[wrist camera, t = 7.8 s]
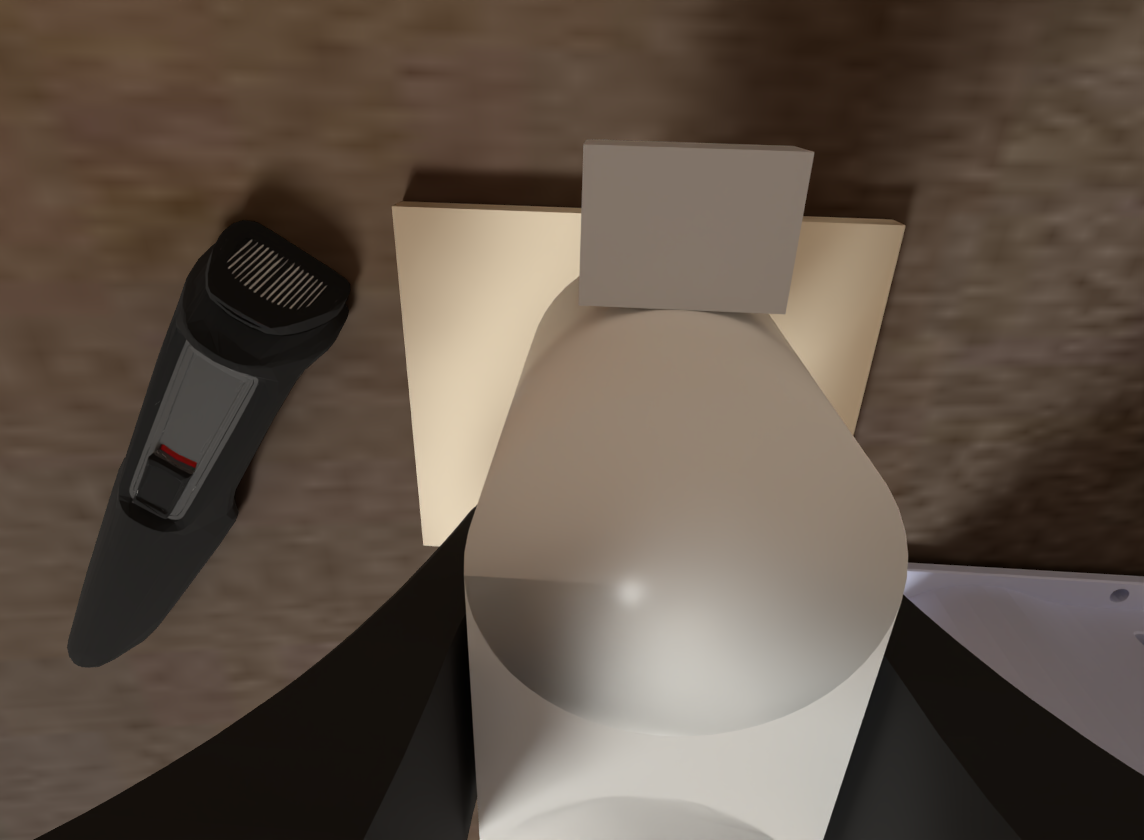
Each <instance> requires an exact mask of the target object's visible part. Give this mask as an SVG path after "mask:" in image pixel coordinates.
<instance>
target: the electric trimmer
mask: <svg viewBox="0 0 1144 840" xmlns="http://www.w3.org/2000/svg"><path fill="white" fill-rule="evenodd" d="M349 293H350V284H349V282H348V281H347V280H346V279H345V278H343V277H342V276H341V275H339V274H338V273H336V272H335V271H334V270H332V269H331V268H329V267H327V266H326V265H324V264H323V263H321V262H320V261H318V260H316V259H315V258H313V257H312V256H310V255H309V254H307V253H306V252H304V251H302V250H301V249H299V248H298V247H296V246H295V245H293V244H292V243H290V242H288V241H287V240H285V239H284V238H282V237H281V236H279V235H277V234H276V233H274V232H273V231H271V230H269V229H267V228H266V227H264V226H262V225H261V224H259V223H257V222H252V221H246V220H243V221H239V222H236V223H233V224H232V225H230V226H229V227H228V228H227V229H225V230H224V231H223V232H222V234H221V235H220V236H219V238H218V240H217V242H216V243H215V244H214V245H212V246H211V247H210V248H209V249H208V250H207V251H206V252H205V253H204V254H203V255H202V256H201V257H200V258H199V259H198V261H197V262H196V264H195V265H194V267H193V268H192V270H191V272H190V273H189V275H188V277H187V278H186V281H185V284H184V287H183V290H182V293H181V296H180V299H179V302H178V305H177V307H176V310H175V313H174V315H173V318H172V321H171V323H170V326H169V328H168V331H167V334H166V337H165V339H164V342H163V345H162V348H161V350H160V353H159V356H158V359H157V362H156V365H155V368H154V371H153V374H152V377H151V380H150V383H149V386H148V389H147V393H146V396H145V399H144V402H143V405H142V408H141V411H140V414H139V417H138V420H137V423H136V426H135V430H134V433H133V436H132V439H131V442H130V445H129V448H128V451H127V454H126V457H125V458H124V460H123V462H122V464H121V466H120V468H119V471H118V474H117V477H116V480H115V483H114V486H113V489H112V493H111V496H110V499H109V502H108V505H107V509H106V512H105V515H104V518H103V522H102V525H101V528H100V531H99V535H98V538H97V541H96V544H95V548H94V551H93V554H92V557H91V561H90V564H89V567H88V570H87V574H86V577H85V580H84V584H83V588H82V591H81V595H80V599H79V602H78V606H77V610H76V613H75V617H74V621H73V625H72V628H71V632H70V636H69V639H68V646H67V649H68V653H69V657H70V658H71V659H72V661H73V662H74V663H75V664H76V665H78V666H81V667H100V666H102V665H104V664H106V663H108V662H110V661H112V660H114V659H116V658H117V657H119V656H120V655H122V654H124V653H125V652H127V651H128V650H130V649H131V648H133V647H135V646H136V645H138V644H139V643H141V642H143V641H144V640H145V639H146V638H147V637H148V636H149V635H150V634H151V633H152V632H153V631H154V630H155V629H156V628H157V627H158V626H159V625H160V623H161V622H162V621H163V619H164V618H165V617H166V616H167V614H168V613H169V612H170V610H171V609H172V608H173V606H174V605H175V604H176V602H177V601H178V600H179V598H180V597H181V596H182V594H183V593H184V592H185V590H186V589H187V588H188V586H189V585H190V584H191V582H192V581H193V580H194V578H195V577H196V576H197V574H198V573H199V572H200V570H201V569H202V568H203V566H204V565H205V563H206V562H207V561H208V559H209V558H210V557H211V555H212V554H213V553H214V551H215V550H216V549H217V547H218V546H219V545H220V543H221V542H222V540H223V539H224V537H225V536H226V534H227V533H228V531H229V530H230V528H231V527H232V525H233V524H234V522H235V521H236V518H237V516H238V509H237V506H236V502H235V499H234V495H235V490H236V488H237V486H238V484H239V482H240V480H241V479H242V477H243V475H244V473H245V471H246V469H247V467H248V466H249V464H250V462H251V460H252V458H253V456H254V454H255V452H256V451H257V449H258V447H259V445H260V443H261V441H262V439H263V438H264V436H265V434H266V432H267V430H268V428H269V426H270V425H271V423H272V421H273V419H274V417H275V415H276V414H277V412H278V410H279V409H280V407H281V406H282V404H283V402H284V401H285V399H286V397H287V396H288V394H289V392H290V391H291V389H292V387H293V386H294V384H295V382H296V381H297V379H298V378H299V377H300V375H301V374H302V373H303V372H304V370H305V369H306V368H307V367H309V366H310V365H311V364H312V363H313V362H314V361H316V360H317V359H318V358H319V357H320V356H321V355H323V354H324V353H325V352H326V351H327V350H328V349H329V348H330V347H331V345H332V344H333V343H334V342H335V340H336V338H337V337H338V335H339V333H340V331H341V329H342V327H343V325H344V323H345V321H346V319H347V317H348V312H349V310H348V307H347V305H346V304H345V302H346V300H347V298H348V295H349ZM197 482H198V483H197ZM175 519H176V520H175Z"/></svg>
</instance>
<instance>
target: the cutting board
mask: <svg viewBox="0 0 1144 840" xmlns="http://www.w3.org/2000/svg"><path fill="white" fill-rule="evenodd" d="M581 209H582V208H569V207H542V206H515V205H488V204H461V203H435V202H408V201H401V202H399V203H397V204H395V205H393V206H392V213H393V224H394V235H395V245H396V256H397V267H398V277H399V288H400V299H401V309H402V320H403V331H404V342H405V352H406V363H407V374H408V384H409V395H410V406H411V416H412V427H413V438H414V449H415V459H416V470H417V481H418V491H419V502H420V513H421V523H422V534H423V545H426V546H441V545H442V543H443V542H444V541H445V540H446V539H447V538H448V537H449V536H450V534H451V533H452V532H453V531H454V530H455V529H456V527H457V526H458V525H459V524H460V523H461V521H462V520H463V519H464V518H465V517H466V516H467V514H468V513H469V512H470V511H471V510H472V509H473V508H474V507H475V506H476V505H477V504H478V501H479V498H480V495H481V492H482V489H483V486H484V483H485V480H486V477H487V474H488V471H489V468H490V465H491V462H492V459H493V456H494V453H495V450H496V448H497V445H498V442H499V439H500V436H501V433H502V430H503V427H504V424H505V421H506V418H507V415H508V412H509V409H510V406H511V403H512V400H513V397H514V394H515V391H516V388H517V385H518V382H519V379H520V376H521V373H522V370H523V367H524V364H525V361H526V358H527V355H528V352H529V349H530V346H531V344H532V341H533V338H534V335H535V332H536V330H537V327H538V325H539V323H540V321H541V319H542V317H543V315H544V313H545V312H546V310H547V309H548V307H549V306H550V305H551V303H552V302H553V300H554V299H555V298H556V297H557V296H558V295H559V294H560V293H561V292H562V291H563V289H564V288H565V287H566V286H568V285H569V284H570V283H571V282H573V281H574V280H575V279H576V278H577V277H579V272H580V241H581ZM905 226H906V225H903V224H901V223H899V222H897V221H895V220H893V219H866V218H839V217H812V216H803V219H802V224H801V230H800V236H799V241H798V247H797V252H796V258H795V264H794V269H793V275H792V280H791V286H790V291H789V297H788V303H787V308H786V314H769V315H770V316H771V318H772V319H773V321H774V322H775V323H776V325H777V326H778V328H779V329H780V331H781V332H782V334H783V335H784V337H785V338H786V339H787V341H788V342H789V344H790V345H791V347H792V348H793V350H794V351H795V352H796V354H797V355H798V357H799V358H800V360H801V361H802V363H803V364H804V365H805V367H806V368H807V370H808V371H809V373H810V374H811V376H812V377H813V379H814V380H815V381H816V383H817V384H818V386H819V387H820V389H821V390H822V392H823V393H824V394H825V396H826V397H827V399H828V400H829V402H830V403H831V405H832V406H833V407H834V409H835V410H836V412H837V413H838V415H839V416H840V418H841V419H842V421H843V422H844V423H845V425H846V426H847V428H848V429H849V431H850V432H851V434H852V435H854V431H855V427H856V423H857V419H858V415H859V411H860V407H861V403H862V399H863V395H864V391H865V387H866V383H867V379H868V375H869V371H870V367H871V363H872V359H873V355H874V351H875V347H876V343H877V339H878V335H879V331H880V327H881V322H882V318H883V314H884V310H885V306H886V302H887V298H888V294H889V290H890V286H891V282H892V278H893V274H894V270H895V266H896V262H897V258H898V254H899V250H900V246H901V242H902V238H903V234H904V230H905Z"/></svg>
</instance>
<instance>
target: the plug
mask: <svg viewBox="0 0 1144 840" xmlns="http://www.w3.org/2000/svg"><path fill="white" fill-rule="evenodd" d="M813 157H814V152H813V151H809V150H806V149H803V148H799V147H796V146H782V145H751V144H720V143H690V142H659V141H629V140H598V139H587V140H586V141H585V143H584V147H583V178H582V209H581V241H580V272H579V277H577V278H576V279H575V280H574V281H573V282H571V283H570V284H569V285H568V286H566V287H565V288H564V289H563V291H562V292H561V293H560V294H559V295H558V296H557V297H556V298H555V299H554V300H553V302H552V303H551V305H550V306H549V307H548V309H547V310H546V312H545V313H544V315H543V317H542V319H541V321H540V323H539V325H538V327H537V330H536V332H535V335H534V338H533V341H532V344H531V346H530V349H529V352H528V355H527V358H526V361H525V364H524V367H523V370H522V373H521V376H520V379H519V382H518V385H517V388H516V391H515V394H514V397H513V400H512V403H511V406H510V409H509V412H508V415H507V418H506V421H505V424H504V427H503V430H502V433H501V436H500V439H499V442H498V445H497V448H496V450H495V453H494V456H493V459H492V462H491V465H490V468H489V471H488V474H487V477H486V480H485V483H484V486H483V489H482V492H481V495H480V498H479V501H478V504H477V507H476V510H475V513H474V516H473V519H472V522H471V525H470V528H469V531H468V536H467V542H466V547H465V552H464V586H465V603H466V619H467V636H468V652H469V669H470V685H471V702H472V718H473V735H474V751H475V768H476V784H477V801H478V817H479V834H480V840H823V839H824V836H825V833H826V830H827V826H828V823H829V820H830V817H831V814H832V811H833V808H834V805H835V802H836V799H837V796H838V793H839V790H840V787H841V784H842V781H843V778H844V775H845V772H846V769H847V766H848V763H849V760H850V756H851V753H852V750H853V747H854V744H855V741H856V738H857V735H858V732H859V729H860V726H861V723H862V720H863V717H864V714H865V711H866V708H867V705H868V702H869V699H870V696H871V693H872V690H873V686H874V683H875V680H876V677H877V674H878V671H879V668H880V665H881V662H882V659H883V656H884V653H885V650H886V647H887V644H888V641H889V638H890V635H891V632H892V629H893V626H894V623H895V620H896V616H897V613H898V610H899V607H900V604H901V601H902V597H903V593H904V589H905V584H906V580H907V567H908V549H907V540H906V531H905V528H904V525H903V521H902V518H901V514H900V511H899V508H898V506H897V504H896V502H895V500H894V498H893V496H892V494H891V492H890V490H889V488H888V486H887V484H886V483H885V481H884V480H883V478H882V477H881V476H880V474H879V473H878V471H877V470H876V468H875V467H874V465H873V464H872V463H871V461H870V460H869V458H868V457H867V455H866V454H865V452H864V451H863V449H862V448H861V447H860V445H859V444H858V442H857V441H856V439H855V438H854V436H853V435H852V434H851V432H850V431H849V429H848V428H847V426H846V425H845V423H844V422H843V421H842V419H841V418H840V416H839V415H838V413H837V412H836V410H835V409H834V407H833V406H832V405H831V403H830V402H829V400H828V399H827V397H826V396H825V394H824V393H823V392H822V390H821V389H820V387H819V386H818V384H817V383H816V381H815V380H814V379H813V377H812V376H811V374H810V373H809V371H808V370H807V368H806V367H805V365H804V364H803V363H802V361H801V360H800V358H799V357H798V355H797V354H796V352H795V351H794V350H793V348H792V347H791V345H790V344H789V342H788V341H787V339H786V338H785V337H784V335H783V334H782V332H781V331H780V329H779V328H778V326H777V325H776V323H775V322H774V321H773V319H772V318H771V316H770V315H769V314H786V308H787V303H788V297H789V291H790V286H791V280H792V275H793V269H794V264H795V258H796V252H797V247H798V241H799V236H800V230H801V224H802V219H803V213H804V208H805V202H806V197H807V191H808V185H809V180H810V174H811V169H812V163H813Z"/></svg>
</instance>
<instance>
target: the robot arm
mask: <svg viewBox="0 0 1144 840" xmlns="http://www.w3.org/2000/svg"><path fill="white" fill-rule="evenodd" d="M476 507H477V505H476V506H475V507H474V508H473V509H472V510H471V511H470V512H469V513H468V514H467V516H466V517H465V518H464V519H463V520H462V521H461V523H460V524H459V525H458V526H457V527H456V529H455V530H454V531H453V532H452V533H451V534H450V536H449V537H448V538H447V539H446V540H445V541H444V542H443V543H442V545H441V546H440V547H439V548H438V549H437V550H436V551H435V552H434V553H433V555H432V556H431V557H430V558H429V559H428V560H427V561H426V562H425V563H424V564H423V565H422V566H421V567H420V568H419V569H418V570H417V571H416V572H415V574H414V575H413V576H412V577H411V578H410V579H409V580H408V581H407V582H406V583H405V584H404V585H403V586H402V587H401V588H400V589H399V590H398V591H397V592H396V593H395V594H394V595H393V596H392V597H391V598H390V599H389V600H388V601H387V602H386V603H384V604H383V605H382V606H381V607H380V608H379V609H378V610H377V611H376V612H375V613H374V614H373V615H372V616H371V617H369V618H368V619H367V620H366V621H365V622H364V623H363V624H362V625H361V626H360V627H359V628H358V629H357V630H355V631H354V632H353V633H352V634H351V635H350V636H349V637H347V638H346V639H345V640H344V641H343V642H342V643H340V644H339V645H338V646H337V647H336V648H335V649H333V650H332V651H331V652H330V653H329V654H327V655H326V656H325V657H324V658H322V659H321V660H320V661H319V662H317V663H316V664H315V665H314V666H312V667H311V668H310V669H309V670H307V671H306V672H305V673H303V674H302V675H301V676H300V677H298V678H297V679H296V680H294V681H293V682H292V683H291V684H289V685H288V686H286V687H285V688H284V689H282V690H281V691H279V692H278V693H277V694H275V695H274V696H273V697H271V698H270V699H268V700H267V701H265V702H264V703H262V704H261V705H260V706H258V707H257V708H255V709H254V710H252V711H251V712H249V713H248V714H246V715H245V716H244V717H242V718H241V719H239V720H238V721H236V722H235V723H233V724H232V725H230V726H229V727H228V728H226V729H225V730H223V731H222V732H220V733H219V734H217V735H216V736H214V737H213V738H211V739H210V740H208V741H206V742H205V743H203V744H202V745H200V746H198V747H197V748H195V749H194V750H192V751H190V752H189V753H187V754H185V755H184V756H182V757H181V758H179V759H177V760H176V761H174V762H173V763H171V764H169V765H168V766H166V767H164V768H163V769H161V770H159V771H158V772H156V773H154V774H152V775H151V776H149V777H147V778H146V779H144V780H142V781H140V782H139V783H137V784H135V785H134V786H132V787H130V788H128V789H127V790H125V791H123V792H122V793H120V794H118V795H116V796H115V797H113V798H111V799H109V800H107V801H106V802H104V803H102V804H100V805H98V806H97V807H95V808H93V809H91V810H89V811H88V812H86V813H84V814H82V815H80V816H78V817H76V818H74V819H72V820H71V821H69V822H67V823H65V824H63V825H61V826H59V827H57V828H55V829H53V830H51V831H49V832H47V833H46V834H44V835H42V836H40V837H38V838H36V839H34V840H467V838H468V833H469V828H470V824H471V819H472V815H473V811H474V807H475V803H476V799H477V784H476V768H475V751H474V735H473V718H472V702H471V685H470V669H469V652H468V636H467V619H466V603H465V586H464V552H465V547H466V542H467V536H468V531H469V528H470V525H471V522H472V519H473V516H474V513H475V510H476ZM1116 590H1117V591H1116ZM1114 591H1115V592H1114ZM823 840H1144V576H1129V575H1112V574H1095V573H1078V572H1060V571H1043V570H1026V569H1009V568H992V567H975V566H958V565H941V564H924V563H908V567H907V580H906V584H905V589H904V593H903V597H902V601H901V604H900V607H899V610H898V613H897V616H896V620H895V623H894V626H893V629H892V632H891V635H890V638H889V641H888V644H887V647H886V650H885V653H884V656H883V659H882V662H881V665H880V668H879V671H878V674H877V677H876V680H875V683H874V686H873V690H872V693H871V696H870V699H869V702H868V705H867V708H866V711H865V714H864V717H863V720H862V723H861V726H860V729H859V732H858V735H857V738H856V741H855V744H854V747H853V750H852V753H851V756H850V760H849V763H848V766H847V769H846V772H845V775H844V778H843V781H842V784H841V787H840V790H839V793H838V796H837V799H836V802H835V805H834V808H833V811H832V814H831V817H830V820H829V823H828V826H827V830H826V833H825V836H824V839H823Z"/></svg>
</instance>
